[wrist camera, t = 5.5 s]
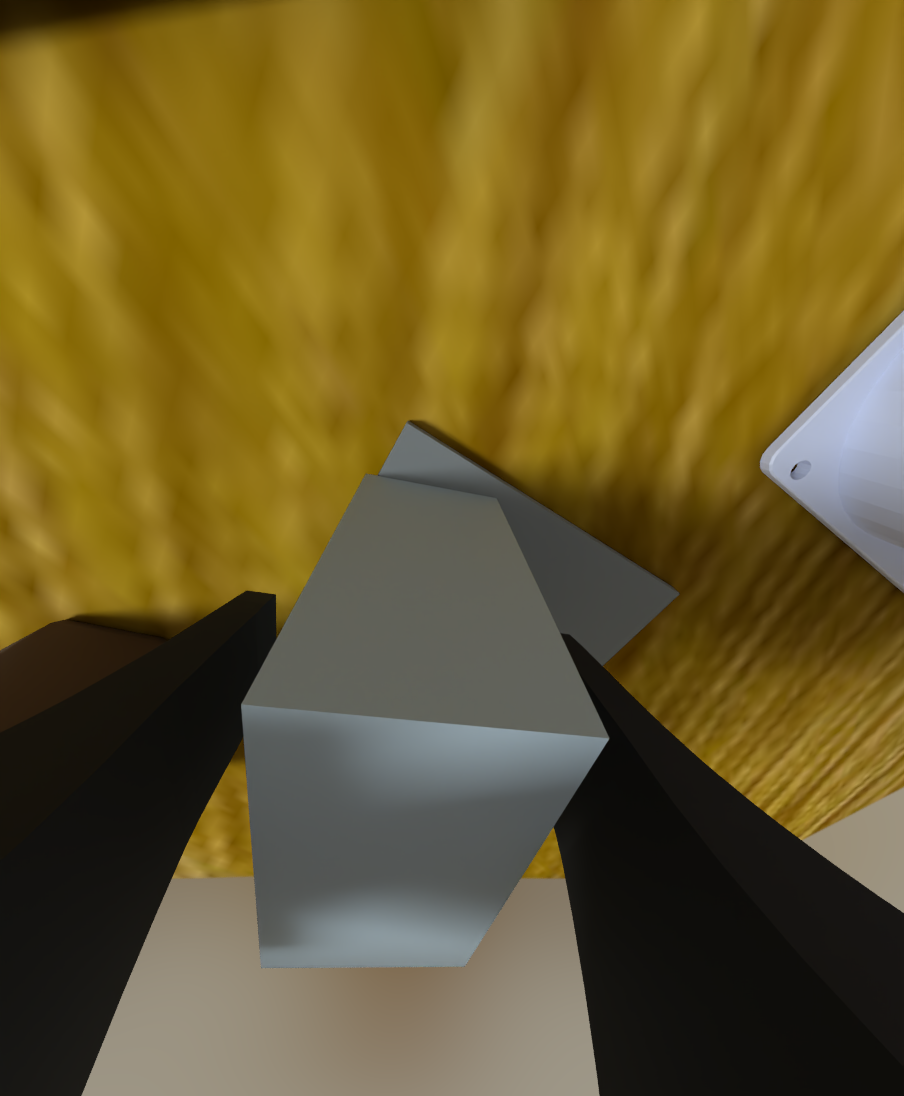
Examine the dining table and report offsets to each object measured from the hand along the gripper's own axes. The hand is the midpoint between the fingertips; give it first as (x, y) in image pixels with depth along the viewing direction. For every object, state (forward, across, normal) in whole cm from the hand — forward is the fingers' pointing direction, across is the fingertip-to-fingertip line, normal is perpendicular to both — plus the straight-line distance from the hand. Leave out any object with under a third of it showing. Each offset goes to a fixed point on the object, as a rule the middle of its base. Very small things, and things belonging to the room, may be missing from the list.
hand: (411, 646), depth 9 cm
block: (+3, 0, 0) cm, 3 cm away
